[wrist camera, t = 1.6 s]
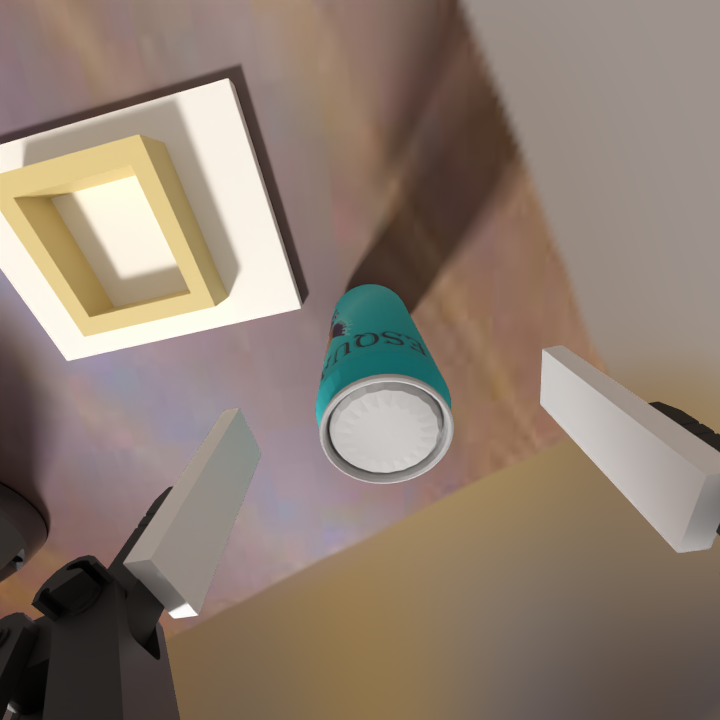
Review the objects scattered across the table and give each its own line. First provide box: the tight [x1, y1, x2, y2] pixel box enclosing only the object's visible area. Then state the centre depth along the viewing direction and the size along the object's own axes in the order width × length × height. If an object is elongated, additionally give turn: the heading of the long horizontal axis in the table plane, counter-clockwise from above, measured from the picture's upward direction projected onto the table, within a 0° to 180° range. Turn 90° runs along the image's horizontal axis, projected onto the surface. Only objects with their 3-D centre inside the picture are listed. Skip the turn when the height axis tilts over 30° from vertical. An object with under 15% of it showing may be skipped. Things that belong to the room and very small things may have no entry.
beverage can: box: [316, 284, 454, 484], centre depth 19 cm, size 6×6×15 cm
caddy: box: [0, 78, 303, 361], centre depth 21 cm, size 20×14×4 cm
